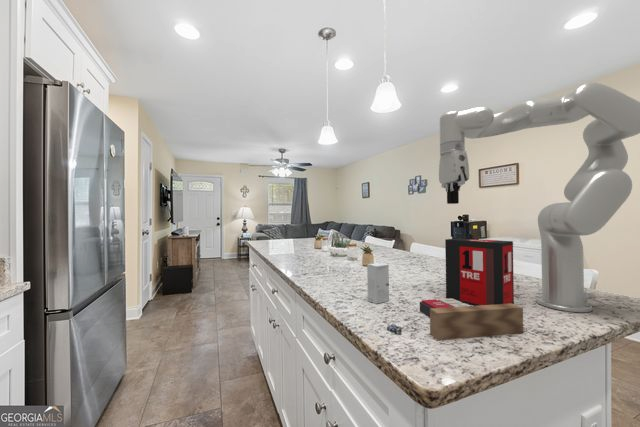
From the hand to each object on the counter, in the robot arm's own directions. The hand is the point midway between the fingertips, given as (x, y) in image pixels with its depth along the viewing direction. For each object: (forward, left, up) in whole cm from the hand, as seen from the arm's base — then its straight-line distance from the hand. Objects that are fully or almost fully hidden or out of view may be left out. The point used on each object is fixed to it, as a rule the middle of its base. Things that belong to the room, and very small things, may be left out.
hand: (452, 203), depth 89 cm
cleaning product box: (-5, +5, -32) cm, 33 cm away
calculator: (+12, +16, -33) cm, 38 cm away
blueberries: (+30, +20, -33) cm, 49 cm away
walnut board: (+12, +25, -32) cm, 42 cm away
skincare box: (+26, -2, -32) cm, 42 cm away
